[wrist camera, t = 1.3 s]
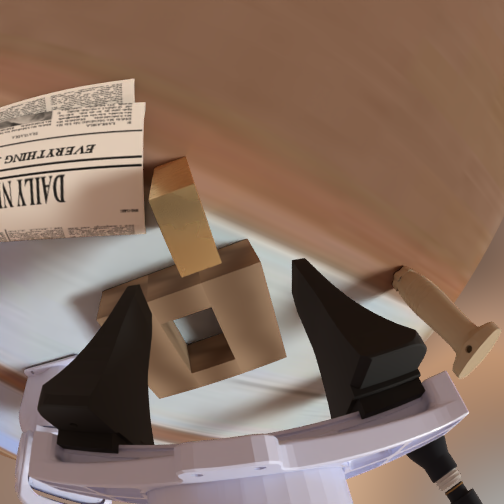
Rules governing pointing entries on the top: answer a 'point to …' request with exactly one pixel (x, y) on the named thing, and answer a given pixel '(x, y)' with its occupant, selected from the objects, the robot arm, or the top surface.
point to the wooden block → (182, 218)
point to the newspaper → (72, 164)
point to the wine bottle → (443, 471)
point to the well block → (226, 311)
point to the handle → (447, 320)
